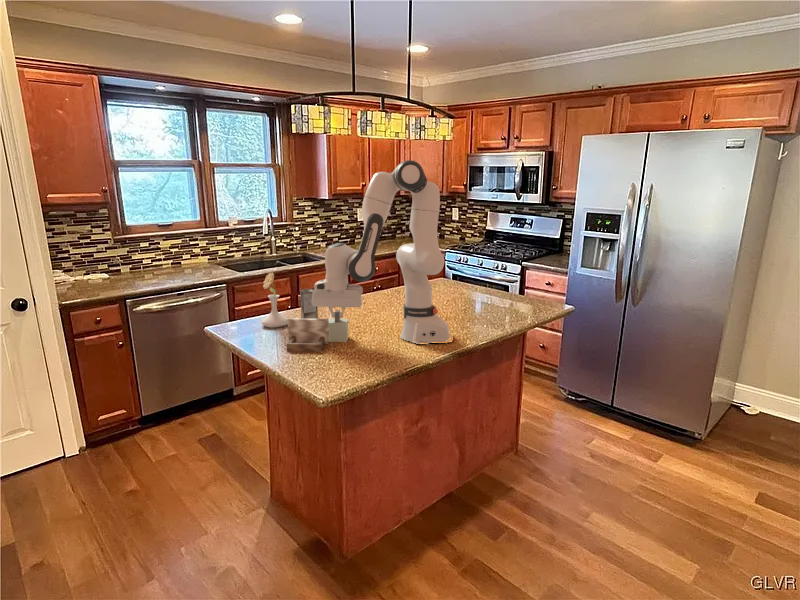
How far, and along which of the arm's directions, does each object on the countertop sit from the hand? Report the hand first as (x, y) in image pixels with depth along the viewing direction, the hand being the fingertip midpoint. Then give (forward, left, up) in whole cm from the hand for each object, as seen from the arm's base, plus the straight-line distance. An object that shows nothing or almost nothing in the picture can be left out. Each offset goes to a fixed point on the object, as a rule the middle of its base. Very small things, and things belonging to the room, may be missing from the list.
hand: (337, 317), depth 193 cm
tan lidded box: (+11, +10, -10) cm, 17 cm away
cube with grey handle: (0, 0, -10) cm, 10 cm away
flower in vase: (+30, -16, -10) cm, 35 cm away
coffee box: (+15, -18, -10) cm, 25 cm away
